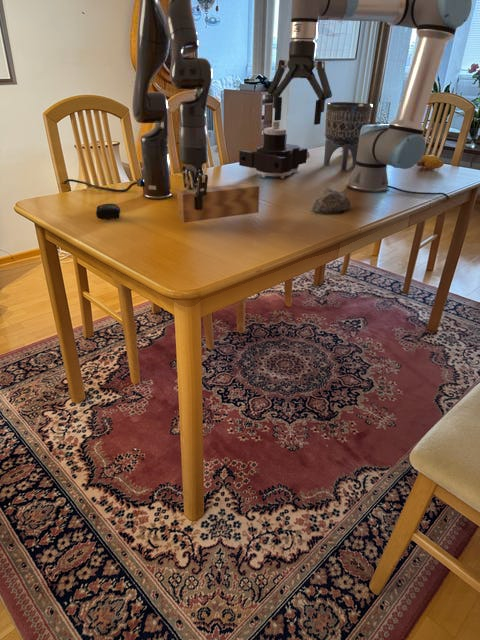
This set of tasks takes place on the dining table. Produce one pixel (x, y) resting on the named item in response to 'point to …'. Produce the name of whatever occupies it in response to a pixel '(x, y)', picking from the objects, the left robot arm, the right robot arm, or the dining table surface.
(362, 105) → the planter
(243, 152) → the mechanical component
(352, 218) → the dining table surface
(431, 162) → the toy
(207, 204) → the bar
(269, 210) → the dining table surface
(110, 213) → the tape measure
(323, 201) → the rock
